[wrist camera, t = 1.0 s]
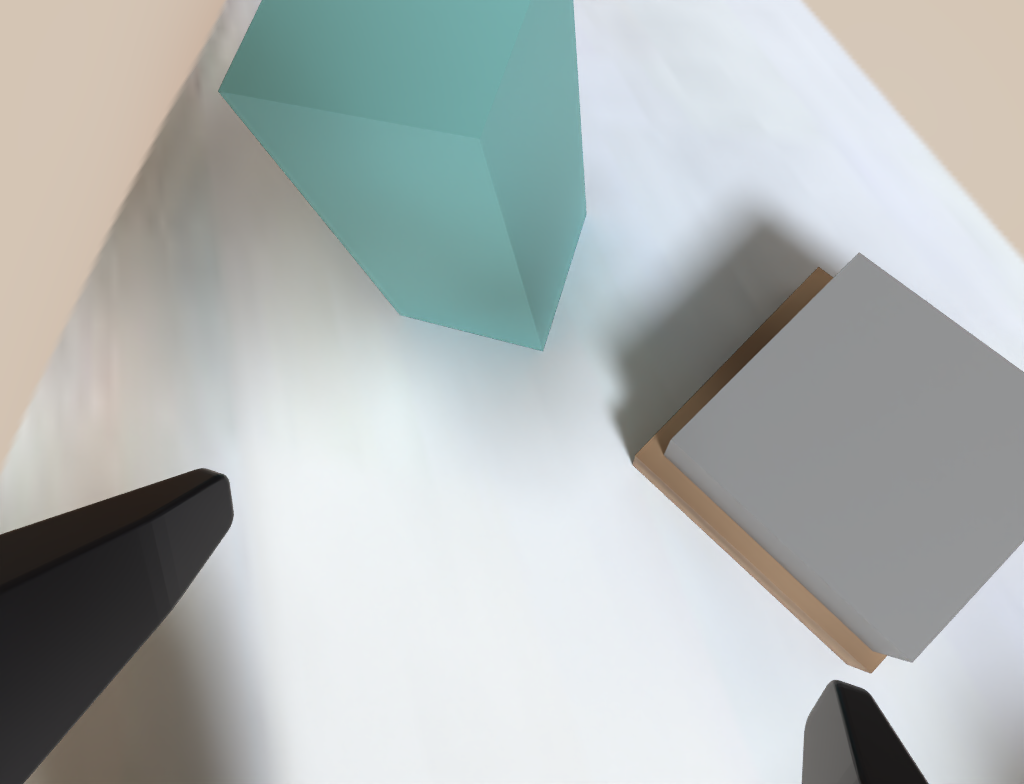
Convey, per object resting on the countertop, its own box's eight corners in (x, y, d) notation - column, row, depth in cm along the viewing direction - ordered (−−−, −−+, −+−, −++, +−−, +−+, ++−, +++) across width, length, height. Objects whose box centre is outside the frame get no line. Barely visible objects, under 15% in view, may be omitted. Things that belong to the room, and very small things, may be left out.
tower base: (840, 661, 21) (871, 673, 18) (631, 467, 23) (634, 455, 21) (1018, 463, 21) (1069, 449, 19) (797, 296, 24) (818, 266, 22)
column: (543, 351, 24) (479, 139, 12) (400, 314, 26) (218, 91, 14) (586, 213, 26) (567, -99, 14) (448, 186, 27) (320, -122, 15)
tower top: (872, 651, 18) (912, 662, 16) (663, 454, 21) (671, 439, 18) (1052, 456, 19) (1116, 439, 17) (831, 288, 21) (859, 252, 19)
